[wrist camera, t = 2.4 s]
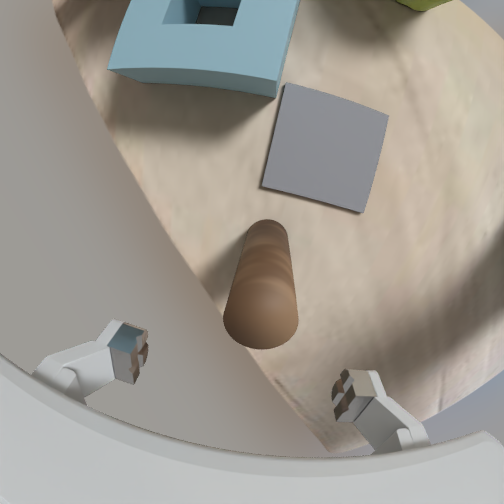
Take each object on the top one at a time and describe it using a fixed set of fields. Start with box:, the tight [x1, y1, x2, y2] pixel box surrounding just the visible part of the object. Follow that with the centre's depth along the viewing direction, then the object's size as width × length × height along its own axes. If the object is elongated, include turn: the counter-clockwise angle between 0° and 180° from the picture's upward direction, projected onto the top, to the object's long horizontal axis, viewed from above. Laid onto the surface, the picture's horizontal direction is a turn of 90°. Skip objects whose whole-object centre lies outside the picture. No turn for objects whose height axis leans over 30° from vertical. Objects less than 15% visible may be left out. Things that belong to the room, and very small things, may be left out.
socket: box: [107, 0, 300, 98], centre depth 14 cm, size 12×12×6 cm
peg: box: [223, 219, 298, 349], centre depth 18 cm, size 4×4×12 cm
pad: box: [262, 83, 389, 213], centre depth 20 cm, size 9×9×1 cm
